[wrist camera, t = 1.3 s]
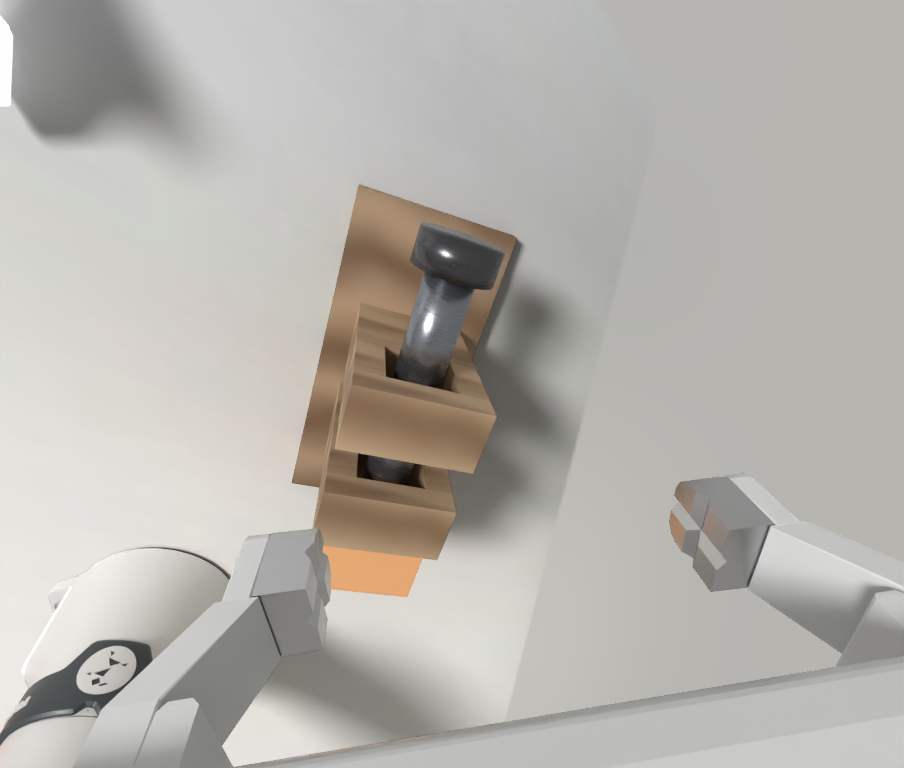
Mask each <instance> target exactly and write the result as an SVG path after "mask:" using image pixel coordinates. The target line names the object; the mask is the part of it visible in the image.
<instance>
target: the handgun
mask: <svg viewBox="0 0 904 768" xmlns="http://www.w3.org/2000/svg"><path fill="white" fill-rule="evenodd" d="M12 53H13V34H12V32H11V30H10V27H9V25H8V24H7V23H6V21H5V20H4V19H3V18H2V17H1V16H0V106H10V105H11V81H12Z"/></svg>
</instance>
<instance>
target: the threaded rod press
mask: <svg viewBox="0 0 904 768" xmlns="http://www.w3.org/2000/svg"><path fill="white" fill-rule="evenodd" d="M421 222H427V223H433V224H437V225H441V226H445V227H448V228H452V229H455V230H458V231H461V232H464V233H467V234H470V235H472V236H475V237H478V238H480V239H483V240H485V241H487V242H490V243H492V244H494V245H496V246H498V247H500V248H502V249H503V250H504V251H505V252H506V254H505V257H504V259H503V262H502V265H501V268H500V270H499V273H498V276H497V279H496V281H495V284H494V287H493V289H491V290H479V289H475V292H474V295H473V297H472V300H471V303H470V306H469V309H468V312H467V315H466V317H465V320H464V323H463V326H462V329H461V332H460V335H459V338H458V340H457V343H456V346H455V349H454V352H453V355H452V358H451V360H450V363H449V366H448V369H447V372H446V375H445V378H444V380H443V383H442V386H441V389H437V388H433V387H428V386H424V385H420V384H415V383H411V382H406V381H402V380H398V379H393V378H392V377H393V373H394V370H395V367H396V363H397V360H398V357H399V353H400V350H401V347H402V343H403V340H404V337H405V333H406V330H407V327H408V323H409V320H410V317H411V313H412V310H413V307H414V303H415V300H416V297H417V293H418V290H419V287H420V283H421V280H422V276H423V273H424V271H422V270H420V269H419V268H417V267H416V266H414V265H413V264H412V263H411V262H410V258H411V255H412V251H413V248H414V244H415V241H416V237H417V234H418V230H419V227H420V223H421ZM516 240H517V238H516V237H514V236H513V235H510V234H507V233H504V232H501V231H498V230H495V229H492V228H489V227H486V226H483V225H480V224H477V223H474V222H471V221H468V220H465V219H462V218H459V217H456V216H453V215H450V214H447V213H443V212H440V211H437V210H434V209H431V208H428V207H425V206H422V205H419V204H416V203H413V202H410V201H407V200H404V199H401V198H398V197H395V196H392V195H389V194H386V193H383V192H380V191H377V190H374V189H371V188H368V187H365V186H362V185H359V186H358V190H357V195H356V199H355V204H354V208H353V213H352V217H351V222H350V226H349V230H348V235H347V239H346V244H345V248H344V253H343V257H342V262H341V266H340V270H339V275H338V279H337V284H336V288H335V293H334V297H333V302H332V306H331V310H330V315H329V319H328V324H327V328H326V333H325V337H324V342H323V346H322V350H321V355H320V359H319V364H318V368H317V373H316V377H315V382H314V386H313V390H312V395H311V399H310V404H309V408H308V413H307V417H306V422H305V426H304V430H303V435H302V439H301V444H300V448H299V453H298V457H297V462H296V466H295V470H294V475H293V479H292V483H295V484H301V485H308V486H314V487H319V493H318V499H317V505H316V511H315V517H314V523H313V529H320V530H321V532H322V536H323V539H324V545H323V546H329V547H337V548H344V549H352V550H360V551H368V552H376V553H384V554H392V555H400V556H408V557H416V558H424V559H432V560H437V559H438V557H439V555H440V552H441V550H442V547H443V545H444V543H445V540H446V538H447V535H448V533H449V531H450V528H451V526H452V523H453V521H454V519H455V516H456V514H457V511H456V507H455V502H454V498H453V493H452V488H451V484H450V479H449V474H448V470H447V469H449V470H454V471H460V472H465V473H471V474H473V473H474V470H475V468H476V466H477V463H478V461H479V458H480V456H481V454H482V451H483V449H484V446H485V444H486V441H487V439H488V437H489V434H490V432H491V429H492V427H493V425H494V422H495V420H496V417H497V415H496V413H495V411H494V409H493V406H492V404H491V402H490V399H489V397H488V395H487V393H486V390H485V388H484V386H483V383H482V381H481V379H480V377H479V374H478V372H477V370H476V368H475V365H474V363H473V361H472V359H473V356H474V353H475V351H476V348H477V345H478V342H479V340H480V337H481V334H482V332H483V329H484V326H485V324H486V321H487V318H488V315H489V313H490V310H491V307H492V305H493V302H494V299H495V296H496V294H497V291H498V288H499V286H500V283H501V280H502V278H503V275H504V272H505V269H506V267H507V264H508V261H509V259H510V256H511V253H512V250H513V248H514V245H515V242H516ZM369 455H371V456H377V457H382V458H388V459H393V460H399V461H404V462H410V463H414V466H413V469H412V472H411V475H410V478H409V481H408V483H407V486H405V485H399V484H393V483H387V482H381V481H375V480H369V479H363V478H362V477H363V474H364V470H365V467H366V464H367V460H368V457H369Z"/></svg>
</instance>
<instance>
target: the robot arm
mask: <svg viewBox="0 0 904 768" xmlns="http://www.w3.org/2000/svg"><path fill="white" fill-rule="evenodd" d="M675 497H676V498H677V500H678V501H679V503H678V504H677V505H676V506H675V507H674V508H673V509H672V510H671V514H670V520H669V523H670V528H671V534H672V536H673V538H674V540H675V542H676V544H677V545H678V547H679V548H680V550H681V551H682V552H684V553H686V554H687V555H689V556H691V557H692V558H694V559H693V568H694V570H695V571H696V572H697V574H698V575H699V576H700V578H701V579H702V580H703V582H704V583H705V585H706V586H707V588H708V589H709V590H710V592H713V591H722V590H730V589H739V588H747V587H749V588H748V590H750V591H751V592H753V593H754V594H756V595H757V596H758V597H760V598H761V599H763V600H764V601H766V602H767V603H769V604H770V605H772V606H773V607H774V608H776V609H777V610H779V611H780V612H782V613H783V614H785V615H786V616H788V617H789V618H791V619H792V620H793V621H795V622H796V623H798V624H799V625H801V626H802V627H804V628H805V629H807V630H808V631H810V632H811V633H812V634H814V635H815V636H817V637H818V638H820V639H821V640H823V641H824V642H826V643H827V644H829V645H830V646H832V647H833V648H834V649H836V650H837V651H839V652H840V653H842V655H841V658H840V659H839V661H838V663H837V665H836V666H835V667H832V668H826V669H821V670H814V671H809V672H802V673H796V674H790V675H784V676H778V677H772V678H766V679H760V680H754V681H749V682H742V683H736V684H730V685H724V686H719V687H712V688H706V689H700V690H694V691H688V692H682V693H677V694H670V695H664V696H658V697H653V698H647V699H640V700H634V701H628V702H622V703H617V704H610V705H604V706H598V707H592V708H586V709H580V710H574V711H568V712H562V713H556V714H550V715H545V716H539V717H533V718H526V719H521V720H514V721H509V722H502V723H496V724H490V725H484V726H478V727H472V728H466V729H460V730H454V731H448V732H442V733H436V734H430V735H424V736H418V737H412V738H406V739H400V740H394V741H388V742H382V743H376V744H370V745H364V746H358V747H352V748H346V749H340V750H334V751H328V752H322V753H315V754H309V755H303V756H297V757H291V758H285V759H279V760H273V761H267V762H261V763H255V764H249V765H243V766H237V767H233V766H232V764H231V762H230V761H229V759H228V757H227V755H226V753H225V751H224V749H223V748H222V745H223V743H224V742H225V740H226V739H227V737H228V736H229V735H230V733H231V732H232V730H233V729H234V727H235V726H236V724H237V723H238V722H239V720H240V719H241V717H242V716H243V714H244V713H245V711H246V710H247V709H248V707H249V706H250V704H251V703H252V701H253V700H254V698H255V697H256V696H257V694H258V693H259V691H260V690H261V688H262V687H263V685H264V684H265V682H266V681H267V680H268V678H269V677H270V675H271V674H272V672H273V671H274V669H275V668H276V667H277V665H278V664H279V662H280V661H281V657H283V656H289V655H294V654H300V653H306V652H311V651H317V650H323V649H324V642H325V634H326V627H327V616H326V612H325V608H324V607H325V606H326V605H327V603H328V602H329V601H330V594H331V570H330V563H329V559H328V556H327V555H326V554H324V553H323V545H324V539H323V536H322V532H321V530H320V529H308V530H298V531H289V532H279V533H272V534H265V535H255V536H248V537H247V538H246V539H245V541H244V542H243V544H242V547H241V550H240V552H239V555H238V558H237V561H236V564H235V566H234V569H233V572H232V575H231V577H230V580H229V579H228V578H227V577H226V576H225V575H224V574H223V573H222V572H221V571H220V570H219V569H217V568H216V567H215V566H213V565H212V564H210V563H208V562H206V561H205V560H203V559H200V558H198V557H196V556H193V555H190V554H187V553H184V552H180V551H175V550H169V549H160V548H142V549H133V550H127V551H123V552H119V553H116V554H113V555H110V556H108V557H106V558H104V559H102V560H100V561H99V562H97V563H96V564H94V565H93V566H92V567H91V568H89V569H88V570H87V571H86V572H84V573H83V574H81V575H80V576H76V577H73V578H69V579H66V580H63V581H61V582H58V583H57V584H55V585H54V586H53V588H52V590H51V591H50V593H49V595H48V600H49V602H50V605H51V608H52V610H53V613H54V614H53V616H52V617H51V619H50V621H49V622H48V624H47V626H46V627H45V629H44V631H43V632H42V634H41V636H40V638H39V639H38V641H37V643H36V644H35V646H34V648H33V649H32V651H31V653H30V654H29V656H28V658H27V660H26V661H25V663H24V665H23V668H22V673H23V674H24V678H25V683H26V685H27V686H28V687H29V689H28V690H27V692H26V693H25V695H24V696H23V698H22V699H21V701H20V702H19V704H18V705H17V706H16V707H15V709H14V710H13V711H12V712H11V714H10V716H9V717H8V719H7V721H6V723H5V724H4V727H3V730H2V732H1V734H0V768H904V563H903V562H901V561H898V560H896V559H894V558H891V557H889V556H886V555H884V554H882V553H880V552H877V551H875V550H873V549H870V548H868V547H866V546H864V545H861V544H859V543H856V542H854V541H852V540H850V539H847V538H845V537H843V536H840V535H838V534H836V533H833V532H831V531H829V530H826V529H824V528H822V527H819V526H817V525H814V524H812V523H810V522H808V521H804V522H800V521H799V520H798V519H796V518H795V517H794V516H793V515H792V514H791V513H790V512H789V511H788V510H787V509H786V508H785V507H783V506H782V505H781V504H780V503H779V502H778V501H777V500H776V499H775V498H774V497H773V496H772V495H770V494H769V493H768V492H767V491H766V490H765V489H764V488H763V487H762V486H761V485H760V484H759V483H758V482H756V481H755V480H754V479H753V478H752V477H751V476H749V475H747V474H745V473H740V474H733V475H726V476H722V477H712V478H705V479H699V480H691V481H683V482H680V483H679V484H678V486H677V487H676V491H675Z"/></svg>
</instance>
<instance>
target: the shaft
mask: <svg viewBox="0 0 904 768" xmlns="http://www.w3.org/2000/svg"><path fill="white" fill-rule="evenodd" d="M505 254H506V252H505V251H504V250H503V249H502V248H500V247H498V246H496V245H494V244H492V243H490V242H487V241H485V240H483V239H480V238H478V237H475V236H472V235H470V234H467V233H464V232H461V231H458V230H455V229H452V228H448V227H445V226H441V225H437V224H433V223H427V222H421V223H420V227H419V230H418V234H417V237H416V241H415V244H414V248H413V251H412V255H411V258H410V262H411V263H412V264H413V265H414V266H416V267H417V268H419V269H420V270H422V271H424V273H423V276H422V280H421V283H420V287H419V290H418V293H417V297H416V300H415V303H414V307H413V310H412V313H411V317H410V320H409V323H408V327H407V330H406V333H405V337H404V340H403V343H402V347H401V350H400V353H399V357H398V360H397V363H396V367H395V370H394V373H393V377H392V378H393V379H398V380H402V381H406V382H411V383H415V384H420V385H424V386H428V387H433V388H437V389H441V386H442V383H443V380H444V378H445V375H446V372H447V369H448V366H449V363H450V360H451V358H452V355H453V352H454V349H455V346H456V343H457V340H458V338H459V335H460V332H461V329H462V326H463V323H464V320H465V317H466V315H467V312H468V309H469V306H470V303H471V300H472V297H473V295H474V292H475V289H479V290H491V289H493V287H494V284H495V281H496V279H497V276H498V273H499V270H500V268H501V265H502V262H503V259H504V257H505ZM413 466H414V463H410V462H404V461H399V460H393V459H388V458H382V457H377V456H371V455H369V457H368V460H367V464H366V467H365V470H364V474H363V477H362V478H363V479H369V480H375V481H381V482H387V483H393V484H399V485H405V486H407V483H408V481H409V478H410V475H411V472H412V469H413Z"/></svg>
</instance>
